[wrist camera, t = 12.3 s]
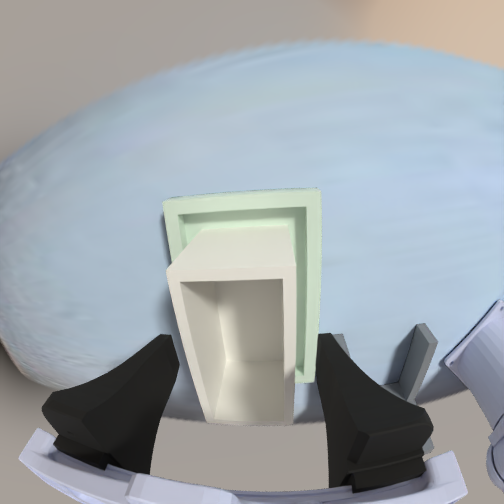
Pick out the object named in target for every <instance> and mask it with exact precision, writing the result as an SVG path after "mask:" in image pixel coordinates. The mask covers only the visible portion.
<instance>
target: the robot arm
mask: <svg viewBox="0 0 504 504" xmlns="http://www.w3.org/2000/svg"><path fill="white" fill-rule="evenodd" d="M444 363H445V365H446V366H447V367H448V368H449V369H450V370H451V371H452V372H453V373H454V374H455V375H456V376H457V377H458V378H459V379H460V380H461V381H462V382H463V383H464V384H465V385H466V386H467V387H468V389H469V390H470V391H471V392H472V394H473V396H474V397H475V399H476V400H477V402H478V404H479V406H480V408H481V409H482V411H483V413H484V414H485V417H486V418H487V420H488V422H489V424H490V426H491V427H492V429H493V432H492V433H491V435H490V436H489V437H488V438H489V440H490V442H491V445H490V446H489V448H488V451H487V460H486V466H487V472H488V475H489V477H490V479H491V481H492V482H493V483H494V485H495V486H497V487H498V488H500V489H501V490H502V492H503V493H504V302H503V301H502V300H498V301H497V303H496V304H495V305H494V306H493V308H492V309H491V310H490V311H489V312H488V314H487V315H486V316H485V317H484V318H483V319H482V321H481V322H480V323H479V324H478V325H477V326H476V327H475V329H474V330H473V331H472V332H471V333H470V334H469V335H468V336H467V337H466V338H465V339H464V340H463V341H462V342H461V343H460V344H459V345H458V346H457V347H456V348H455V349H454V350H453V351H452V352H451V353H450V354H449V355H448V356H447V357H446V358H445V360H444ZM179 365H180V364H179V361H178V357H177V354H176V351H175V347H174V344H173V340H172V337H171V335H164V334H160V335H159V336H157V337H156V338H155V339H153V340H152V341H151V342H150V343H148V344H147V345H146V346H145V347H143V348H142V349H141V350H140V351H138V352H137V353H136V354H134V355H133V356H132V357H130V358H129V359H128V360H126V361H125V362H123V363H122V364H121V365H119V366H118V367H116V368H114V369H113V370H111V371H109V372H108V373H106V374H104V375H102V376H100V377H98V378H96V379H93V380H91V381H89V382H87V383H84V384H81V385H79V386H75V387H72V388H69V389H65V390H60V391H56V392H53V393H52V394H51V395H50V397H49V398H48V399H47V401H46V402H45V404H44V405H43V406H42V412H43V414H44V416H45V418H46V419H47V420H48V422H49V423H50V424H51V425H52V427H53V428H54V429H55V430H56V431H57V433H58V434H59V435H58V436H57V438H56V437H54V436H53V435H52V434H50V433H48V432H46V431H44V430H42V429H40V428H37V430H36V431H35V432H34V434H33V435H32V437H31V439H30V440H29V442H28V443H27V445H26V446H25V448H24V450H23V451H22V453H21V454H20V456H19V460H20V461H21V462H22V463H23V464H24V465H25V466H27V467H28V468H29V469H30V470H31V471H32V472H33V473H35V474H36V475H37V476H38V477H39V478H41V479H42V480H43V481H44V482H46V483H47V484H49V485H50V486H52V487H54V488H55V489H57V490H59V491H60V492H62V493H64V494H66V495H67V496H69V497H71V498H73V499H75V500H77V501H78V502H80V503H82V504H454V503H456V502H457V501H458V500H460V499H461V498H463V497H464V496H465V495H467V493H468V491H467V488H466V485H465V482H464V479H463V477H462V474H461V471H460V468H459V465H458V463H457V460H456V458H455V455H454V452H453V451H448V452H446V453H443V454H440V455H438V456H435V457H432V458H430V459H428V460H427V461H425V462H424V461H423V458H422V456H423V455H424V451H423V448H422V447H423V446H424V444H425V443H426V441H427V440H428V439H429V437H430V436H431V434H432V432H433V424H432V422H431V420H430V418H429V416H428V414H427V412H426V411H425V409H424V408H422V407H419V406H417V405H414V404H412V403H409V402H407V401H405V400H403V399H401V398H399V397H397V396H396V395H394V394H392V393H390V392H389V391H387V390H386V389H384V388H383V387H381V386H380V385H378V384H377V383H376V382H375V381H373V380H372V379H371V378H370V377H369V376H367V375H366V374H365V373H364V372H363V371H362V370H361V369H360V368H359V367H358V366H357V365H356V364H355V363H354V362H353V360H352V359H351V358H350V357H349V356H348V355H347V354H346V352H345V351H344V350H343V349H342V347H341V346H340V345H339V343H338V342H337V341H336V339H335V338H334V336H333V335H332V334H331V333H324V334H318V339H317V353H316V364H315V366H316V376H317V384H318V389H319V394H320V398H321V403H322V407H323V412H324V417H325V423H326V430H327V431H326V432H327V443H328V444H327V445H328V466H329V488H327V489H318V490H307V491H289V492H288V491H285V492H256V491H236V490H224V489H220V488H216V487H210V486H205V485H198V484H191V483H185V482H180V481H174V480H170V479H165V478H161V477H156V476H152V475H150V467H151V460H152V453H153V448H154V443H155V438H156V434H157V430H158V426H159V422H160V419H161V416H162V413H163V411H164V408H165V406H166V403H167V401H168V399H169V396H170V394H171V391H172V389H173V386H174V384H175V381H176V378H177V374H178V370H179Z"/></svg>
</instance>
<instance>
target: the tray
mask: <svg viewBox="0 0 504 504" xmlns="http://www.w3.org/2000/svg"><path fill="white" fill-rule="evenodd" d="M162 203H163V210H164V217H165V223H166V230H167V236H168V242H169V248H170V254H171V260H172V262H173V261H174V260H175V259H176V258H177V257H178V255H179V254H180V253H181V252H182V251H183V250H184V249H185V247H186V246H187V245H188V244H189V243H190V242H191V241H192V240H193V238H194V237H195V236H196V235H197V234H198V233H199V232H200V231H201V229H215V228H231V227H249V226H268V225H288V229H289V233H290V238H291V243H292V248H293V253H294V258H295V263H296V363H295V383H309V382H314V379H315V369H316V366H315V364H316V353H317V339H318V331H319V314H320V293H321V258H322V207H321V191H320V190H319V189H318V188H291V189H270V190H252V191H238V192H224V193H212V194H201V195H191V196H181V197H172V198H170V199H167V200H165V201H163V202H162Z"/></svg>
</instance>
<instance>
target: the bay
mask: <svg viewBox="0 0 504 504" xmlns="http://www.w3.org/2000/svg"><path fill="white" fill-rule="evenodd" d="M333 336H334V338H335V339H336V341H337V342H338V343H339V345H340V346H341V347H342V349H343V350H344V351H345V352H346V354H347V355H348V356H349V357H350V354H349V351H348V348H347V345H346V342H345V339H344V336H343V334H335V335H333ZM437 343H438V341H437V339H436V338H435V337H434V335H433V334H432V332H431V331H430V330H429V328H428V327H427V326H426V324H425V323H423V324H417V325H416V328H415V332H414V336H413V339H412V343H411V346H410V349H409V352H408V356H407V359H406V362H405V365H404V368H403V371H402V373H401V376H400V379H399V382H396V383H391V384H386V385H380V386H381V387H383V388H384V389H386V390H387V391H389V392H390V393H392V394H394V395H396V396H397V397H399V398H401V399H403V400H405V401H407V402H409V403H412V404H414V405H417V404H416V402H415V397H416V395H417V393H418V391H419V389H420V386H421V384H422V382H423V380H424V377H425V375H426V372H427V370H428V368H429V365H430V362H431V360H432V357H433V355H434V352H435V349H436V346H437ZM422 448H423V451H424V455H425V454H428V453H431V451H432V450H433V449H434V446H433V443H432V440H431V438H430V437H429V439H428V440H427V441H426V443H425V444H424V446H423V447H422Z"/></svg>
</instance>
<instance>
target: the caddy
mask: <svg viewBox="0 0 504 504" xmlns="http://www.w3.org/2000/svg"><path fill="white" fill-rule="evenodd" d="M166 274H167V279H168V284H169V289H170V293H171V298H172V302H173V307H174V311H175V315H176V319H177V323H178V327H179V331H180V335H181V339H182V343H183V347H184V350H185V354H186V358H187V361H188V365H189V368H190V372H191V375H192V378H193V382H194V385H195V388H196V391H197V394H198V398H199V401H200V404H201V407H202V410H203V413H204V416H205V419H206V421H207V423H208V424H222V425H243V426H281V425H293V413H294V392H295V363H296V263H295V258H294V253H293V248H292V243H291V238H290V233H289V229H288V225H268V226H249V227H231V228H215V229H201V231H200V232H199V233H198V234H197V235H196V236H195V237H194V238H193V240H192V241H191V242H190V243H189V244H188V245H187V246H186V247H185V249H184V250H183V251H182V252H181V253H180V254H179V255H178V257H177V258H176V259H175V260H174V261H173V262H172V264H171V265H170V266H169V267H168V268H167V269H166Z"/></svg>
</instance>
